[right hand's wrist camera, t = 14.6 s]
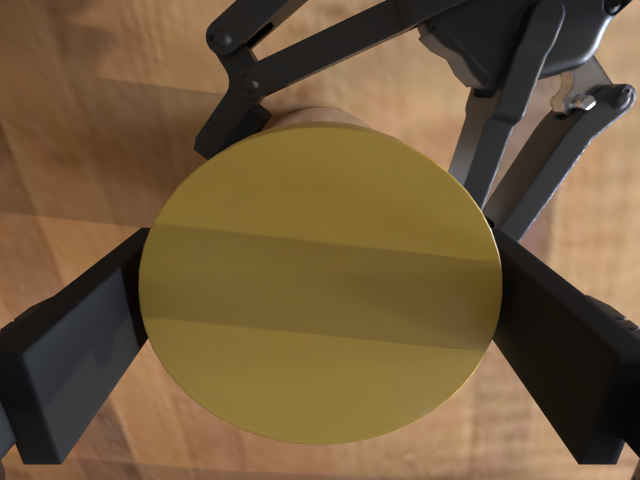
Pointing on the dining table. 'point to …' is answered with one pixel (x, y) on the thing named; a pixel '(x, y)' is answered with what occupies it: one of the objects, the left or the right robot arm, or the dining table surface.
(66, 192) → the dining table surface
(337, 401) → the lid
